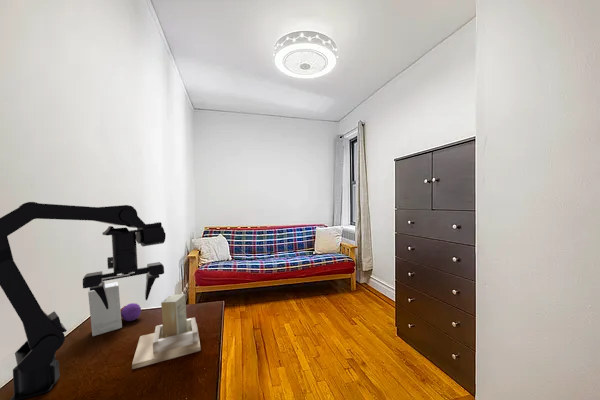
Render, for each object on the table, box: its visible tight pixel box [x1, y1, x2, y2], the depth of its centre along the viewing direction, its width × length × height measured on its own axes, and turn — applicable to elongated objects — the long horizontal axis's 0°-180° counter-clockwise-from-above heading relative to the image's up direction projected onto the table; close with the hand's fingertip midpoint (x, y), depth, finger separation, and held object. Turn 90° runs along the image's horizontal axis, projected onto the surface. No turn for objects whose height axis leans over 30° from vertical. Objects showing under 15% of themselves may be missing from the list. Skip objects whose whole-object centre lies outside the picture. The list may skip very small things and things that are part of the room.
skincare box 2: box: [160, 293, 188, 338], centre depth 76 cm, size 6×4×12 cm
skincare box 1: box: [87, 281, 123, 337], centre depth 88 cm, size 8×6×15 cm
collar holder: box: [131, 317, 202, 370], centre depth 76 cm, size 16×16×4 cm
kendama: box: [120, 302, 142, 322], centre depth 98 cm, size 6×6×20 cm
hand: (127, 304), depth 74 cm, fingers open, 9 cm apart
